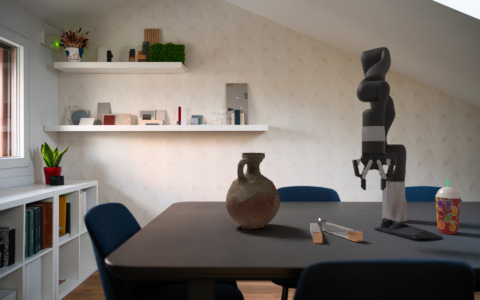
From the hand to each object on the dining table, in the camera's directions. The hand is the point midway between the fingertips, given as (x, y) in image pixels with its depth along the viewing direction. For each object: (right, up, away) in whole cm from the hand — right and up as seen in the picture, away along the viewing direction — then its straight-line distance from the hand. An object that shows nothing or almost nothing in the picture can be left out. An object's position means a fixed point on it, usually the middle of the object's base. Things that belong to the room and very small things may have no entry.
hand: (373, 189), depth 128 cm
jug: (-40, -18, +23) cm, 49 cm away
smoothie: (+32, -18, +12) cm, 39 cm away
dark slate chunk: (+16, -18, +11) cm, 27 cm away
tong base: (-16, -17, +8) cm, 25 cm away
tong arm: (-9, -17, +7) cm, 21 cm away
